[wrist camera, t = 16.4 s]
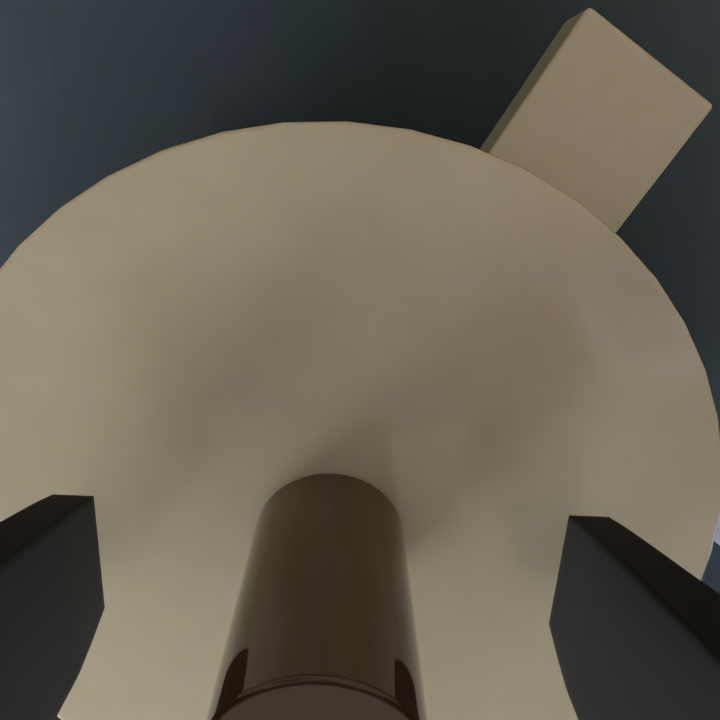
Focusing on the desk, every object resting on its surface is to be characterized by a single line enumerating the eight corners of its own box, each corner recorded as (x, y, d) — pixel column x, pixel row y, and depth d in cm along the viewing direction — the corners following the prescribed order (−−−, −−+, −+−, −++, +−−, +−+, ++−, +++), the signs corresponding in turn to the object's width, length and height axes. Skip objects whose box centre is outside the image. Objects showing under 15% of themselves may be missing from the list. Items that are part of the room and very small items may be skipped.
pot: (744, 233, 15) (972, 287, 9) (352, 702, 20) (351, 921, 14) (321, -87, 13) (296, -261, 7) (-7, 527, 17) (-174, 705, 12)
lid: (843, 402, 11) (1248, 618, 6) (420, 839, 14) (455, 1202, 9) (182, -73, 8) (-55, -368, 3) (-134, 589, 12) (-474, 900, 7)
